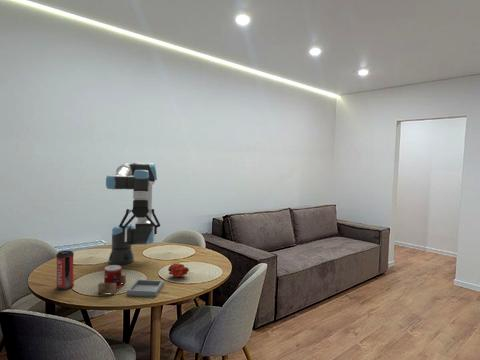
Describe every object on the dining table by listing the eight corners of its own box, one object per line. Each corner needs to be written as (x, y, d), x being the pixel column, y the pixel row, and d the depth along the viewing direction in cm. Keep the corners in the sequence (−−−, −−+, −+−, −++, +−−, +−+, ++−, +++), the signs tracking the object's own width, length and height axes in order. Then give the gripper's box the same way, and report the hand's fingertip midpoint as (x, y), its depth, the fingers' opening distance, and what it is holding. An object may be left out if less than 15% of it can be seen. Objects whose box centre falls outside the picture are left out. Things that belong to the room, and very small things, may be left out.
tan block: (98, 294, 149) (98, 284, 149) (111, 282, 163) (111, 273, 163) (114, 294, 149) (114, 284, 149) (126, 283, 163) (126, 274, 163)
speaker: (77, 285, 159) (77, 250, 158) (65, 291, 151) (65, 255, 150) (64, 283, 160) (64, 249, 159) (52, 289, 153) (52, 253, 152)
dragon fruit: (166, 278, 176) (187, 281, 176) (165, 274, 169) (187, 278, 169) (170, 264, 180) (190, 267, 181) (169, 259, 173) (190, 262, 174)
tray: (126, 295, 149) (126, 290, 149) (137, 284, 163) (137, 279, 163) (155, 296, 148) (155, 291, 148) (163, 285, 162) (163, 280, 162)
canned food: (107, 285, 160) (107, 264, 159) (123, 285, 160) (123, 264, 160) (101, 291, 152) (102, 270, 151) (118, 291, 153) (118, 270, 152)
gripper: (114, 199, 153) (112, 242, 151) (165, 199, 160) (164, 241, 158) (115, 199, 160) (114, 241, 158) (165, 199, 167) (164, 239, 165)
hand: (139, 241), depth 158 cm, fingers open, 13 cm apart
